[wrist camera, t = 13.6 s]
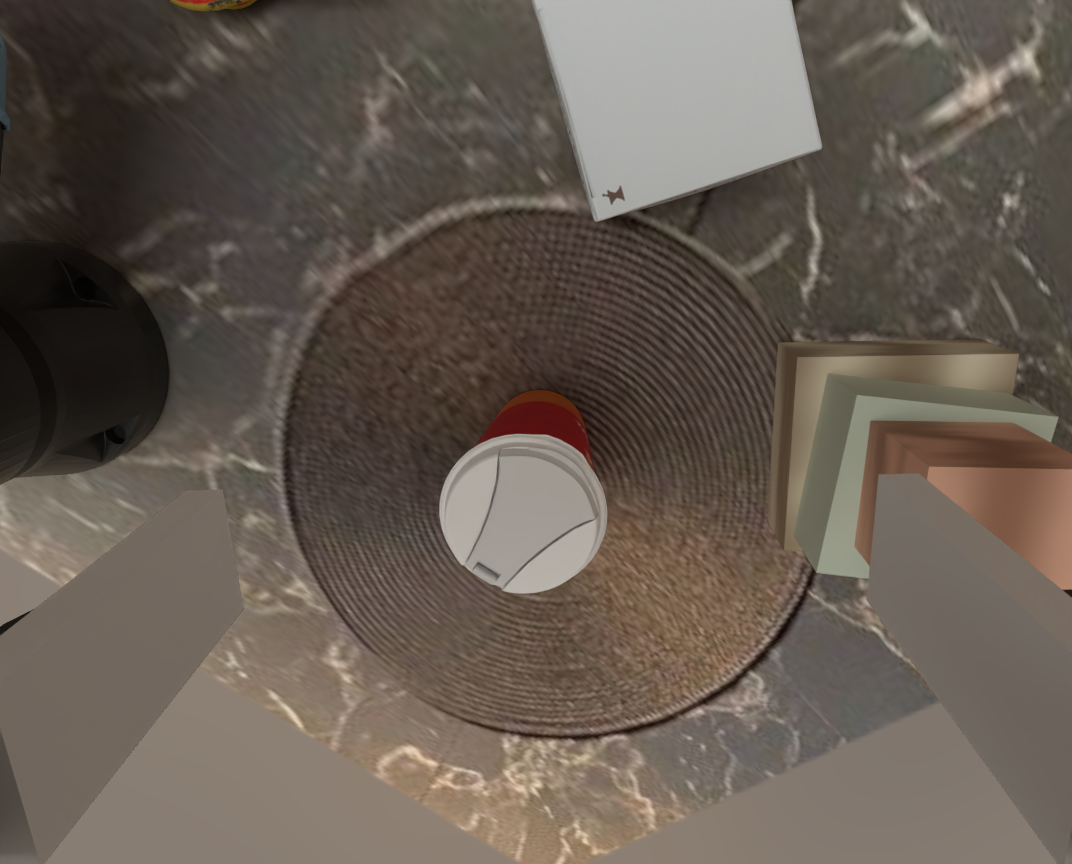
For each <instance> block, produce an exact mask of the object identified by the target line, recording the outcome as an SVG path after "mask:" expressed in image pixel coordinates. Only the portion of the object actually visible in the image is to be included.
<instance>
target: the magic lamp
mask: <svg viewBox="0 0 1072 864" xmlns="http://www.w3.org/2000/svg"><path fill="white" fill-rule="evenodd" d="M169 1H170V2H172V3H174V4H175V5H177V6H180V7H183V8H185V9H188V10H194V11H202V12H210V11H219V10H223V9H232V10H233V9H241V8H244V7H247V6H249V5H251V4H252V3H254V2H256V1H257V0H169Z"/></svg>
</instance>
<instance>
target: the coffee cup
mask: <svg viewBox="0 0 1072 864" xmlns="http://www.w3.org/2000/svg"><path fill="white" fill-rule="evenodd" d="M440 521H441V527H442V530H443V533H444V536H445V539H446V541H447V543H448V545H449V547H450V549H451V550H452V552H453V553H454V555H455V557H456V558H457V560H458V561H459V562H460V564H461V565H464V566H465V567H466V568H467V569H468V570H470V571H471V572H472V573H473V574H475V575H476V576H478V577H480V578H481V579H483V580H485V581H486V582H488V583H489V584H491V585H493V584H494V585H497V586H499V587H500V588H501V587H502V591H506V592H511V593H523V594H525V593H537V592H541V591H546V590H549V589H551V588H554V587H557V586H559V585H561V584H562V583H564V582H566V581H567V580H569V579H570V578H571V577H573V576H575V575H576V574H577V573H579V572H580V571H581V570H582V569H584V568H585V566H586V565H587V564H588V563H589V562H590V561H591V560H592V559H593V557H594V556H595V554H596V552H597V551H598V549H599V547H600V545H601V543H602V540H603V538H604V534H605V530H606V526H607V505H606V499H605V495H604V492H603V488H602V486H601V484H600V482H599V480H598V478H597V476H596V474H595V473H594V468H593V462H592V457H591V451H590V446H589V440H588V435H587V431H586V427H585V424H584V421H583V418H582V416H581V414H580V412H579V411H578V409H577V408H576V407H575V405H574V404H573V403H572V402H571V401H569V400H568V399H567V398H565V397H564V396H562V395H560V394H558V393H555V392H552V391H548V390H532V391H527V392H524V393H522V394H520V395H518V396H516V397H514V398H513V399H511V400H510V401H509V402H508V403H507V404H506V405H505V406H504V407H503V408H502V410H501V411H500V412H499V413H498V415H497V416H496V417H495V419H494V420H493V422H492V423H491V424H490V426H489V427H488V429H487V430H486V432H485V433H484V435H483V436H482V437H481V439H480V440H479V442H478V443H477V445H476V446H475V447H474V448H472V449H471V450H469V451H468V452H467V453H466V454H465V455H464V456H462V457H461V458H460V459H459V460H458V462H457V463H456V464H455V465H454V467H453V468H452V469H451V471H450V473H449V475H448V477H447V478H446V480H445V483H444V486H443V489H442V492H441V498H440Z"/></svg>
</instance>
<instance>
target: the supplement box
mask: <svg viewBox="0 0 1072 864" xmlns="http://www.w3.org/2000/svg"><path fill="white" fill-rule="evenodd" d="M532 4H533V8H534V12H535V15H536V19H537V23H538V27H539V30H540V34H541V38H542V42H543V45H544V49H545V53H546V56H547V60H548V64H549V67H550V71H551V75H552V78H553V82H554V85H555V89H556V93H557V96H558V100H559V103H560V107H561V110H562V114H563V118H564V121H565V125H566V128H567V132H568V135H569V139H570V142H571V146H572V149H573V153H574V156H575V160H576V163H577V167H578V170H579V174H580V177H581V180H582V184H583V187H584V191H585V194H586V198H587V201H588V204H589V207H590V210H591V213H592V216H593V219H594V221H595V222H599V221H602V220H605V219H609V218H612V217H615V216H618V215H622V214H626V213H630V212H633V211H637V210H641V209H646V208H649V207H652V206H656V205H659V204H662V203H666V202H670V201H674V200H677V199H680V198H683V197H686V196H689V195H692V194H695V193H698V192H702V191H705V190H708V189H711V188H714V187H717V186H720V185H723V184H726V183H729V182H732V181H735V180H738V179H741V178H743V177H746V176H749V175H752V174H755V173H758V172H760V171H763V170H766V169H769V168H772V167H774V166H777V165H780V164H783V163H785V162H788V161H791V160H794V159H797V158H799V157H802V156H805V155H808V154H810V153H813V152H816V151H819V150H821V149H822V142H821V138H820V133H819V129H818V124H817V120H816V115H815V110H814V105H813V100H812V95H811V91H810V86H809V82H808V77H807V72H806V68H805V63H804V58H803V54H802V49H801V44H800V39H799V34H798V30H797V25H796V20H795V15H794V10H793V5H792V0H532Z"/></svg>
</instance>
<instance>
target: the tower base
mask: <svg viewBox="0 0 1072 864" xmlns="http://www.w3.org/2000/svg"><path fill="white" fill-rule="evenodd" d="M1018 358H1019V354H1018V353H1016V352H1013V351H1010V350H1008V349H1005V348H1002V347H999V346H997V345H994V344H991V343H988V342H986V341H983V340H980V339H957V340H900V341H842V342H785V343H778V354H777V370H776V387H775V403H774V420H773V436H772V452H771V469H770V485H769V501H768V518H767V521H768V523H769V525H770V527H771V529H772V530H773V532H774V534H775V536H776V538H777V539H778V541H779V543H780V545H781V547H782V549H783V550H784V551H803V550H802V548H801V546H800V545H799V543H798V541H797V540H796V538H795V537H794V535H793V532H794V528H795V523H796V518H797V514H798V509H799V505H800V500H801V495H802V491H803V486H804V481H805V477H806V472H807V467H808V463H809V458H810V453H811V449H812V444H813V439H814V435H815V430H816V425H817V421H818V416H819V411H820V407H821V402H822V398H823V393H824V388H825V384H826V379H827V374H828V373H829V374H838V375H848V376H857V377H866V378H875V379H884V380H893V381H903V382H912V383H921V384H930V385H939V386H948V387H958V388H967V389H976V390H985V391H994V392H1003V393H1008V394H1010V395H1013V391H1014V384H1015V377H1016V371H1017V364H1018Z"/></svg>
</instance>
